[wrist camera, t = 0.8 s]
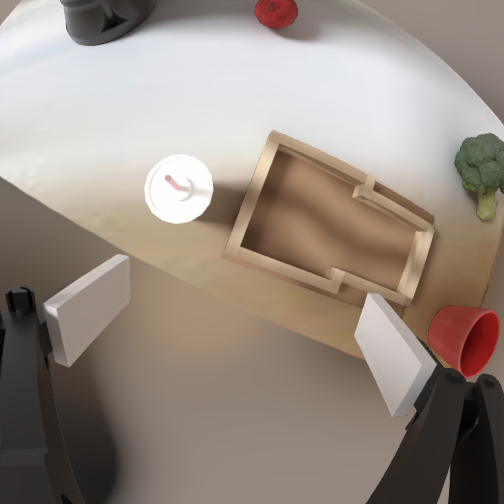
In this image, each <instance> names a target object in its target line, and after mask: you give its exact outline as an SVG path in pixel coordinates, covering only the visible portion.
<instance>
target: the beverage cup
mask: <svg viewBox="0 0 504 504" xmlns="http://www.w3.org/2000/svg"><path fill="white" fill-rule="evenodd" d="M213 190H214V189H213V182H212V176H211V174H210V172H209V171H208V169H207V167H206V166H205V164H203V163H202V162H200V161H199V160H198V159H196V158H195V157H192V156H187V155H182V154H180V155H174V156H169V157H166V158H165V159H163V160H162V161H160V162H158V163H157V164H156V165H155V166H154V168H153V169H152V170H151V172H150V173H149V174H148V177H147V180H146V184H145V197H146V202H147V204H148V206H149V207H150V209H151V211H152V213H154V214H155V215H156V216H158V217H159V218H160V219H162V220H163V221H167V222H171V223H175V224H178V223H184V222H190V221H192V220H194V219H195V218H197V217H198V216H200V215H202V214H203V212H204V211H205V210H206V208H207V207H208V205H209V204H210V202H211V198H212V194H213Z"/></svg>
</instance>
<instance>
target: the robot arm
mask: <svg viewBox="0 0 504 504" xmlns="http://www.w3.org/2000/svg"><path fill="white" fill-rule="evenodd" d="M60 2H61V3H62V4H63V6H64V13H65V19H66V29H67V32H68V34H69V35H70V37H71V38H72V39H73V40H74V41H75V42H76V43H78V44H81V45H97V44H102V43H105V42H109V41H111V40H114V39H116V38H118V37H120V36H122V35H124V34H126V33H128V32H129V31H131V30H133V29H134V28H135V27H137V26H138V25H139V24H141V23H142V22H143V21H144V20H145V19H146V18H147V17H148V16H149V14H150V13H151V12H152V10H153V8H154V6H155V2H156V0H60ZM5 295H6V300H7V305H8V309H9V312H2V311H0V440H1V456H0V504H85V502H84V500H83V498H82V496H81V494H80V492H79V489H78V487H77V484H76V481H75V478H74V475H73V472H72V469H71V466H70V463H69V460H68V456H67V453H66V449H65V445H64V441H63V437H62V433H61V429H60V425H59V420H58V415H57V410H56V405H55V399H54V393H53V387H52V379H51V371H50V363H49V359H48V354H49V353H50V352H51V351H52V350H53V354H54V358H55V361H56V362H57V363H60V364H62V365H64V366H67V367H70V366H71V365H72V364H73V363H74V361H75V360H76V359H77V358H78V357H79V356H80V355H81V353H82V352H83V351H84V350H85V349H86V348H87V347H88V346H89V345H90V343H91V342H92V341H93V340H94V339H95V338H96V337H97V336H98V335H99V334H100V333H101V332H102V331H103V329H104V328H105V327H106V326H107V325H108V324H109V323H110V322H111V321H112V320H113V318H115V317H116V316H117V314H118V313H119V312H120V311H121V310H122V309H123V308H124V307H125V306H126V305H127V304H128V303H129V302H130V256H125V255H119V254H117V255H116V256H114V257H113V258H111V259H109V260H108V261H106V262H105V263H103V264H101V265H100V266H98V267H97V268H95V269H94V270H92V271H90V272H89V273H87V274H86V275H84V276H83V277H81V278H80V279H78V280H77V281H75V282H74V283H72V284H71V285H68V286H65V287H62V288H60V289H59V290H57V291H56V292H55V293H53V294H51V295H50V297H47V298H45V299H44V300H42V301H41V302H40V303H38V304H37V305H36V303H35V298H34V292H33V289H32V288H31V287H29V286H15V287H12V288H10V289H9V290H7V292H6V293H5ZM354 336H355V338H356V340H357V342H358V344H359V346H360V349H361V351H362V353H363V355H364V357H365V359H366V361H367V363H368V365H369V367H370V369H371V371H372V373H373V376H374V378H375V380H376V382H377V384H378V386H379V389H380V391H381V393H382V395H383V397H384V400H385V402H386V404H387V406H388V408H389V411H390V413H391V415H392V417H398V416H407V415H408V413H409V412H410V410H411V409H412V407H413V405H414V407H415V408H416V410H417V412H416V413H415V415H414V417H413V418H412V419H411V421H410V422H409V424H408V425H407V427H406V428H405V430H407V432H406V434H405V436H404V438H403V440H402V442H401V444H400V446H399V448H398V450H397V452H396V454H395V456H394V458H393V460H392V461H391V463H390V465H389V467H388V469H387V471H386V472H385V474H384V476H383V477H382V479H381V481H380V482H379V484H378V485H377V487H376V489H375V490H374V492H373V493H372V495H371V497H370V498H369V500H368V501H367V503H366V504H437V502H438V499H439V497H440V494H441V491H442V488H443V485H444V482H445V479H446V476H447V473H448V470H449V467H450V487H449V501H448V504H504V393H503V390H502V387H501V385H500V383H499V381H498V380H497V379H496V378H495V377H493V376H492V375H489V374H481V375H480V376H479V377H478V379H477V381H476V382H475V383H471V382H466V379H465V377H464V376H463V375H462V374H461V373H460V372H459V371H457V370H455V369H452V368H444V367H443V366H442V364H441V363H440V362H439V360H438V359H437V358H436V357H435V355H433V353H432V352H431V350H429V348H428V347H427V345H426V344H425V343H424V342H423V341H422V340H420V339H419V338H418V337H415V336H414V334H413V333H412V332H411V331H410V329H409V328H408V327H407V326H406V324H405V323H404V322H403V321H402V320H401V318H400V317H399V316H398V315H397V314H396V312H395V311H394V310H393V309H392V308H391V307H390V305H389V304H388V303H387V302H386V301H385V300H384V298H383V297H382V296H381V295H380V294H375V293H368V294H367V297H366V301H365V304H364V307H363V310H362V313H361V316H360V319H359V323H358V325H357V328H356V331H355V334H354ZM477 422H478V423H477Z"/></svg>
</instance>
